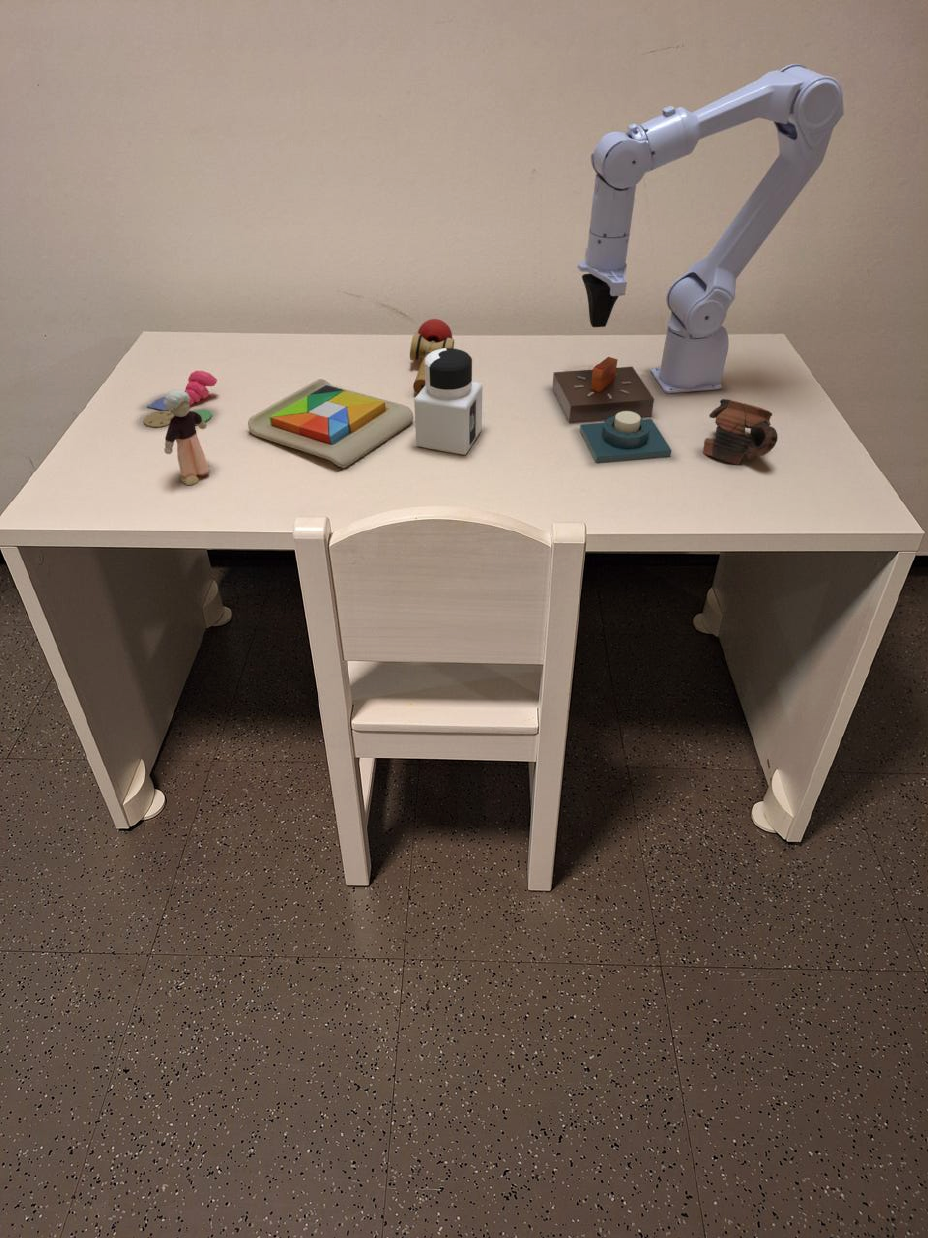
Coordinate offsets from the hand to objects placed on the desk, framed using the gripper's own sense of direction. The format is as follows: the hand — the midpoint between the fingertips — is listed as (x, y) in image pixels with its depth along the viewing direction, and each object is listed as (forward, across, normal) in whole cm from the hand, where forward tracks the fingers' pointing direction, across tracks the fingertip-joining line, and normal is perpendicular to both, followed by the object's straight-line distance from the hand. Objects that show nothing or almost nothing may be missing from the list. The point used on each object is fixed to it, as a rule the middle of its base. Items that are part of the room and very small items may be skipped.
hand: (597, 325), depth 124 cm
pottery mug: (+10, +22, +16) cm, 29 cm away
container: (+11, +12, -25) cm, 30 cm away
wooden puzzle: (+11, +6, -42) cm, 44 cm away
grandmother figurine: (+11, +16, -61) cm, 64 cm away
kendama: (+11, -10, -25) cm, 29 cm away
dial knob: (+7, +5, 0) cm, 9 cm away
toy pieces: (+11, -3, -65) cm, 66 cm away
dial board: (+10, +5, 0) cm, 12 cm away
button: (+8, +18, 0) cm, 19 cm away
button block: (+10, +18, 0) cm, 20 cm away
